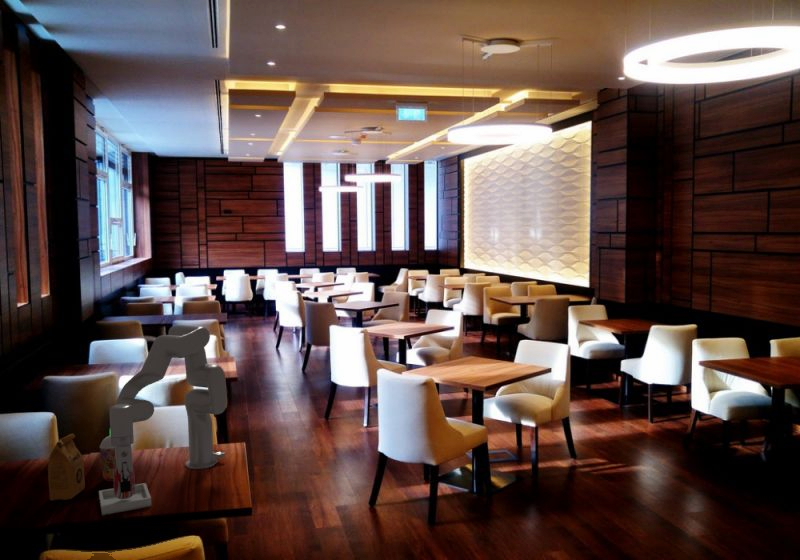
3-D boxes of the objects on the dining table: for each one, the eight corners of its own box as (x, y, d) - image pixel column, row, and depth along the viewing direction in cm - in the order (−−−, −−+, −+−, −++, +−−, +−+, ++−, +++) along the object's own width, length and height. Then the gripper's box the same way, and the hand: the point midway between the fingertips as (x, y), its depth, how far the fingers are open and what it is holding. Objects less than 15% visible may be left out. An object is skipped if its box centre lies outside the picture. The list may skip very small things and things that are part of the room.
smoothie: (96, 480, 267) (94, 430, 265) (114, 473, 274) (112, 424, 273) (111, 484, 263) (108, 433, 261) (129, 477, 270) (126, 427, 269)
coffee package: (90, 489, 258) (87, 432, 257) (71, 502, 246) (68, 442, 244) (64, 488, 259) (61, 431, 257) (45, 502, 247) (41, 442, 245)
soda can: (114, 494, 248) (113, 461, 247) (135, 491, 250) (134, 459, 249) (113, 501, 241) (112, 468, 240) (135, 498, 243) (133, 465, 242)
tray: (145, 490, 256) (145, 482, 256) (151, 506, 242) (151, 497, 242) (99, 498, 249) (98, 490, 249) (102, 515, 235) (101, 506, 235)
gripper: (136, 444, 238) (138, 494, 239) (131, 431, 253) (133, 478, 255) (112, 448, 234) (115, 498, 236) (109, 434, 250) (111, 481, 251)
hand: (124, 487), depth 245 cm, fingers closed on soda can, 7 cm apart
